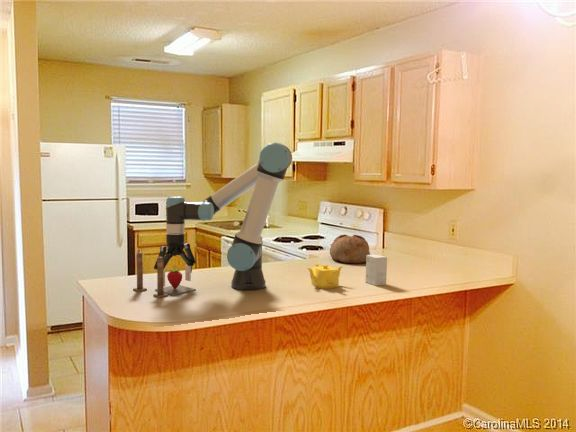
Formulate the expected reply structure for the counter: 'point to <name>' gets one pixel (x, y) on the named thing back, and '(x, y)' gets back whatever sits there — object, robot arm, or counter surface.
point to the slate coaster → (177, 290)
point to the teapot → (325, 276)
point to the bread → (350, 249)
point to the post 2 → (160, 279)
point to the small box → (376, 269)
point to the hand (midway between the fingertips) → (175, 283)
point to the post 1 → (139, 273)
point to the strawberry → (174, 278)
